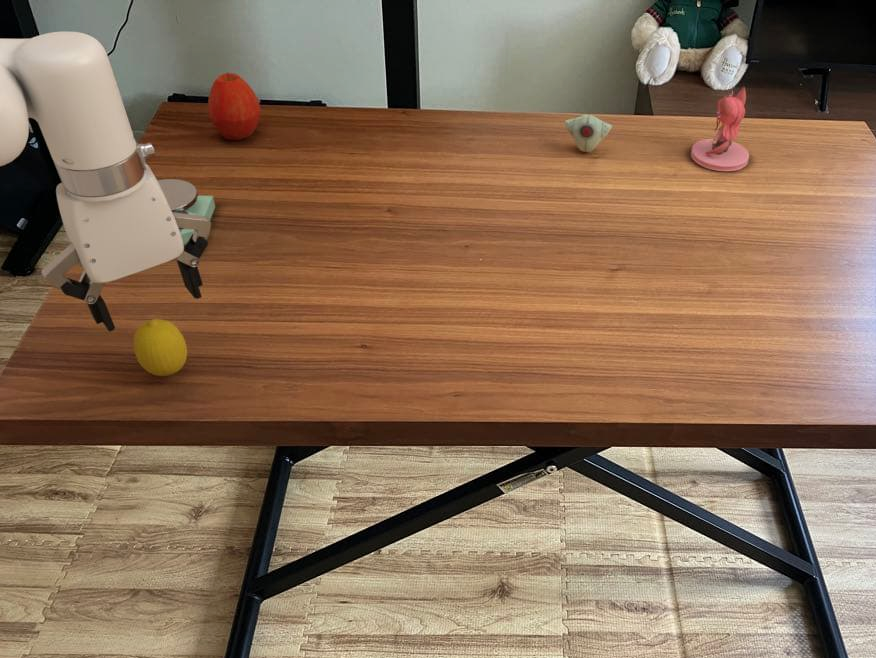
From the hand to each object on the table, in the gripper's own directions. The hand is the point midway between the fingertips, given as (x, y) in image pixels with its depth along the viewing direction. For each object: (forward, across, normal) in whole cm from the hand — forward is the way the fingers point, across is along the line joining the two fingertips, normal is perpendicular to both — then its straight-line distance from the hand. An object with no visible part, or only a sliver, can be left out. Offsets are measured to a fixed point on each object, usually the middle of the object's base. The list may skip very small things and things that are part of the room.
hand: (151, 308), depth 97 cm
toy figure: (+12, -94, 0) cm, 95 cm away
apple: (+10, -31, -51) cm, 61 cm away
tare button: (+7, -12, -25) cm, 28 cm away
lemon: (+10, +1, 0) cm, 10 cm away
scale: (+10, -11, -30) cm, 34 cm away
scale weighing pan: (+6, -12, -32) cm, 35 cm away
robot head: (+11, -76, -14) cm, 78 cm away
